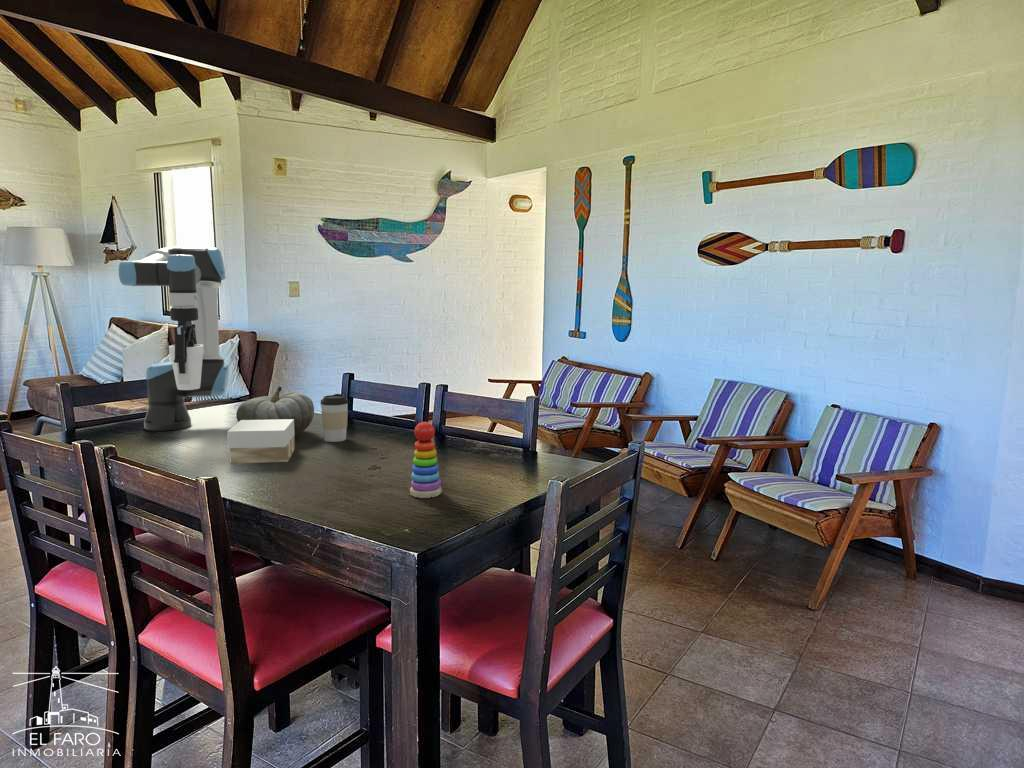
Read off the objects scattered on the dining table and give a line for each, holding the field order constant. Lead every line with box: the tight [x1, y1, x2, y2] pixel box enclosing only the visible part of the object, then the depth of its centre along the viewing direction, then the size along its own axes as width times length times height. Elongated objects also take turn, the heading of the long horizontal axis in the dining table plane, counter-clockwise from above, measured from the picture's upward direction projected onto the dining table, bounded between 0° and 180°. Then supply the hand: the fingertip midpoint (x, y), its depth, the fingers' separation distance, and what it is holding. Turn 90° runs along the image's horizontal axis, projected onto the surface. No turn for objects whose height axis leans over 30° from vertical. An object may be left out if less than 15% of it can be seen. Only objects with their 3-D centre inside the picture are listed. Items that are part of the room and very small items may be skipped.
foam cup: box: [168, 344, 204, 390], centre depth 208 cm, size 10×9×13 cm
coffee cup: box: [319, 393, 349, 443], centre depth 230 cm, size 9×9×15 cm
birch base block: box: [229, 436, 296, 465], centre depth 209 cm, size 16×16×5 cm
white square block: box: [226, 419, 295, 449], centre depth 208 cm, size 16×16×5 cm
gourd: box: [236, 385, 315, 437], centre depth 234 cm, size 25×25×17 cm
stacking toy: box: [409, 421, 443, 499], centre depth 172 cm, size 8×8×19 cm
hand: (188, 381), depth 208 cm, fingers closed on foam cup, 9 cm apart
